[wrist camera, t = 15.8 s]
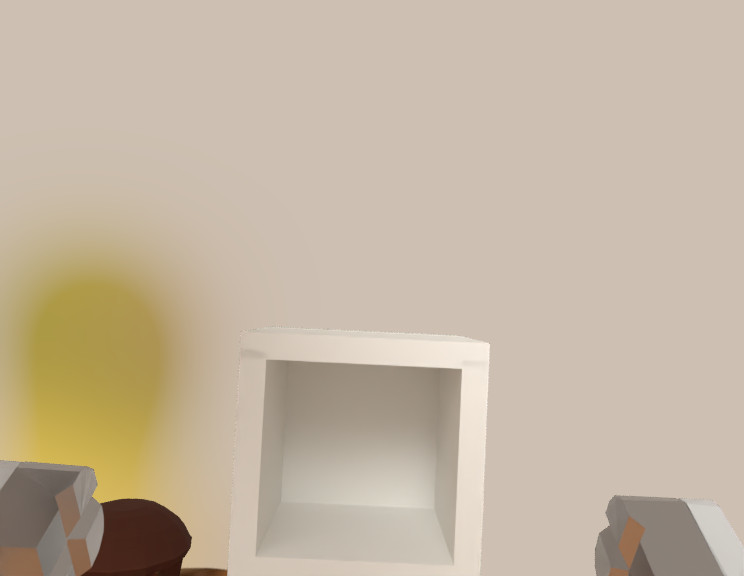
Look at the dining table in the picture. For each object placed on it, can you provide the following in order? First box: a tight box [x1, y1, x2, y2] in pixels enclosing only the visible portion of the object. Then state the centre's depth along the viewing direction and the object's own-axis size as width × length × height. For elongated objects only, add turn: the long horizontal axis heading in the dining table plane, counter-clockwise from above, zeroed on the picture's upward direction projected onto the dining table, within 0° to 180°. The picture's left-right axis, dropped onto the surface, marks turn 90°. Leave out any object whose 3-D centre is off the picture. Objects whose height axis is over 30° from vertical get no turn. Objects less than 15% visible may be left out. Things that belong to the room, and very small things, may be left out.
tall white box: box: [227, 327, 490, 576], centre depth 42 cm, size 12×14×26 cm
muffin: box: [81, 499, 192, 576], centre depth 55 cm, size 12×11×10 cm
